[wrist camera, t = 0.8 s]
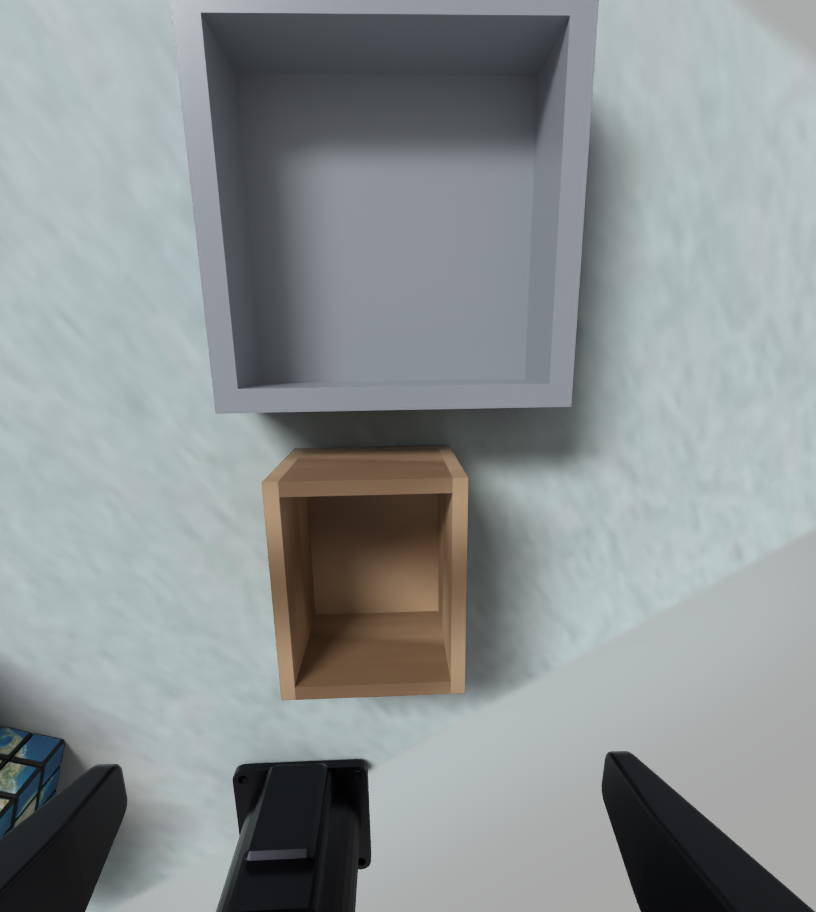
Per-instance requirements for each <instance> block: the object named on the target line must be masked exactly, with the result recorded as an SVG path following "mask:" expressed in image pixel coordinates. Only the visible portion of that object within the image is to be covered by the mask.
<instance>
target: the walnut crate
mask: <svg viewBox="0 0 816 912" xmlns="http://www.w3.org/2000/svg"><path fill="white" fill-rule="evenodd" d="M262 492H263V503H264V514H265V525H266V536H267V547H268V558H269V569H270V580H271V591H272V602H273V613H274V624H275V635H276V646H277V657H278V668H279V679H280V690H281V700H301V699H327V698H354V697H380V696H406V695H433V694H459V693H465V651H466V590H467V530H468V476H467V475H466V473H465V471H464V470H463V468H462V466H461V465H460V463H459V461H458V460H457V458H456V456H455V455H454V453H453V451H452V450H451V448H450V446H449V445H447V446H400V447H353V448H306V449H294V450H293V451H292V452H291V453H290V454H289V455H288V456H287V457H286V458H285V459H284V460H283V461H282V462H281V463H280V464H279V465H278V466H277V467H276V468H275V469H274V470H273V471H272V472H271V473H270V474H269V475H268V476H267V478H266V479H265V480H264V481H263V482H262Z"/></svg>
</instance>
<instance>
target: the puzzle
mask: <svg viewBox="0 0 816 912" xmlns="http://www.w3.org/2000/svg"><path fill="white" fill-rule="evenodd" d="M63 749H64V740H61V739H57V738H52V737H48V736H43V735H39V734H34V735H33V736H32V733H29V732H24V731H19V730H15V729H11V728H6V727H2V728H0V838H1V837H3V836H4V835H5V834H7V833H8V832H9V831H10V830H12V829H13V828H14V827H16V826H17V825H18V824H19V823H21V822H22V821H23V820H25V819H26V818H27V817H28V816H30V815H31V814H32V813H34V812H35V811H36V810H37V809H39V808H40V807H41V806H43V805H44V804H45V803H46V802H48V801H49V800H50V799H52V798H53V797H54V796H55V794H56V791H55V788H56V787H57V783H58V777H59V772H60V763H61V760H62V755H63Z"/></svg>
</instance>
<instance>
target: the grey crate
mask: <svg viewBox="0 0 816 912" xmlns="http://www.w3.org/2000/svg"><path fill="white" fill-rule="evenodd" d="M170 3H171V12H172V21H173V30H174V39H175V48H176V57H177V66H178V75H179V85H180V94H181V103H182V112H183V121H184V130H185V139H186V148H187V157H188V166H189V175H190V184H191V193H192V202H193V211H194V220H195V229H196V238H197V247H198V256H199V265H200V274H201V283H202V292H203V301H204V310H205V319H206V328H207V337H208V347H209V356H210V365H211V374H212V383H213V392H214V401H215V410H216V413H267V412H321V411H374V410H428V409H482V408H535V407H571V404H572V389H573V374H574V359H575V345H576V330H577V315H578V300H579V285H580V271H581V256H582V241H583V226H584V211H585V196H586V182H587V167H588V152H589V137H590V122H591V107H592V93H593V78H594V63H595V48H596V33H597V18H598V4H599V0H170Z"/></svg>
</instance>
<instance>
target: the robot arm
mask: <svg viewBox="0 0 816 912" xmlns="http://www.w3.org/2000/svg"><path fill="white" fill-rule="evenodd" d="M355 771H359V772H355ZM245 776H246V777H245ZM233 786H234V794H235V802H236V810H237V818H238V826H239V834H240V837H239V840H238V843H237V846H236V850H235V853H234V856H233V859H232V862H231V866H230V869H229V872H228V875H227V878H226V882H225V885H224V888H223V891H222V894H221V898H220V901H219V904H218V907H217V911H216V912H355V903H356V887H357V873H358V869H365V868H367V867H368V866H369V865H370V862H371V839H370V815H369V794H368V793H369V792H368V768H367V764H366V763H365V762H364V761H362V760H357V759H356V760H333V761H309V762H285V763H262V764H243V765H240V766H239V767H238V768H237V769H236V771H235V774H234V776H233ZM602 795H603V800H604V803H605V806H606V809H607V812H608V815H609V818H610V821H611V824H612V827H613V830H614V833H615V837H616V840H617V843H618V846H619V849H620V852H621V855H622V858H623V861H624V864H625V867H626V870H627V873H628V876H629V879H630V883H631V886H632V888H633V891H634V894H635V897H636V900H637V903H638V905H639V908H640V910H641V912H814V911H813V910H812V909H811V908H810V907H809V906H808V905H807V904H805V903H804V902H803V901H802V900H801V899H800V898H798V897H797V896H796V895H795V894H794V893H793V892H791V891H790V890H789V889H788V888H787V887H786V886H785V885H783V884H782V883H781V882H780V881H779V880H777V879H776V878H775V877H774V876H773V875H772V874H771V873H770V872H768V871H767V870H766V869H765V868H764V867H763V866H761V865H760V864H759V863H758V862H757V861H756V860H755V859H753V858H752V857H751V856H750V855H749V854H748V853H746V852H745V851H744V850H743V849H742V848H741V847H739V846H738V845H737V844H736V843H735V842H734V841H732V840H731V839H730V838H729V837H728V836H726V834H724V833H723V832H722V831H721V830H720V829H718V827H716V826H715V825H714V824H713V823H712V822H711V821H709V820H708V819H707V818H706V817H705V816H704V815H702V814H701V813H700V812H699V811H698V810H697V809H696V808H694V807H693V806H692V805H691V804H690V803H689V802H687V801H686V800H685V799H684V798H683V797H682V796H681V795H679V794H678V793H677V792H676V791H675V790H674V789H672V788H671V787H670V786H669V785H668V784H667V783H665V782H664V781H663V780H662V779H661V778H660V777H659V776H657V775H656V774H655V773H654V772H653V771H652V770H650V769H649V768H648V767H647V766H646V765H644V763H642V762H641V761H640V760H639V759H638V758H637V757H635V756H634V755H633V754H631V753H630V752H627V751H618V752H617V751H615V752H608V753H607V755H606V758H605V764H604V771H603V779H602ZM126 806H127V795H126V789H125V783H124V778H123V772H122V768H121V767H120V766H119V765H118V764H99V765H95V766H93V767H92V768H90V769H89V770H88V771H86V772H85V773H84V774H82V775H81V776H80V777H79V778H77V779H76V780H75V781H73V782H72V783H71V784H70V785H68V786H67V787H66V788H64V789H63V790H62V791H61V792H59V793H58V794H57V795H55V796H54V797H53V798H52V799H50V800H49V801H48V802H46V803H45V804H44V805H43V806H41V807H40V808H39V809H37V810H36V811H35V812H34V813H32V814H31V815H30V816H28V817H27V818H26V819H25V820H23V821H22V822H21V823H19V824H18V825H17V826H16V827H14V828H13V829H12V830H10V831H9V832H8V833H7V834H5V835H4V836H3V837H1V838H0V912H85V910H86V908H87V906H88V903H89V901H90V898H91V896H92V893H93V891H94V888H95V886H96V884H97V881H98V879H99V876H100V874H101V871H102V869H103V866H104V864H105V861H106V859H107V856H108V854H109V851H110V849H111V846H112V844H113V842H114V839H115V837H116V834H117V832H118V829H119V827H120V824H121V822H122V819H123V817H124V814H125V811H126Z"/></svg>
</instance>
